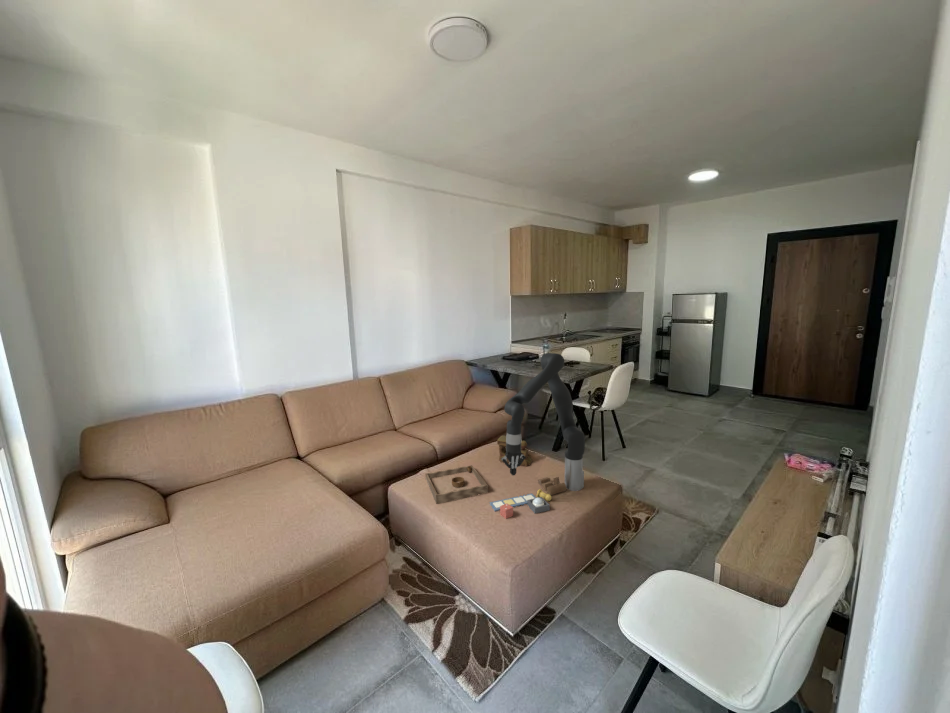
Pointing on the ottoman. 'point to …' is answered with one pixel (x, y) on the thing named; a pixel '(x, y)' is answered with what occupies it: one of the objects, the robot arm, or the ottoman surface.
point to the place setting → (460, 479)
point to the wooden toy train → (528, 459)
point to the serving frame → (458, 493)
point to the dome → (538, 502)
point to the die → (506, 511)
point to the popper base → (540, 508)
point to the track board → (512, 501)
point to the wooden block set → (550, 487)
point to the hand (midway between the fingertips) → (513, 474)
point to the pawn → (543, 495)
